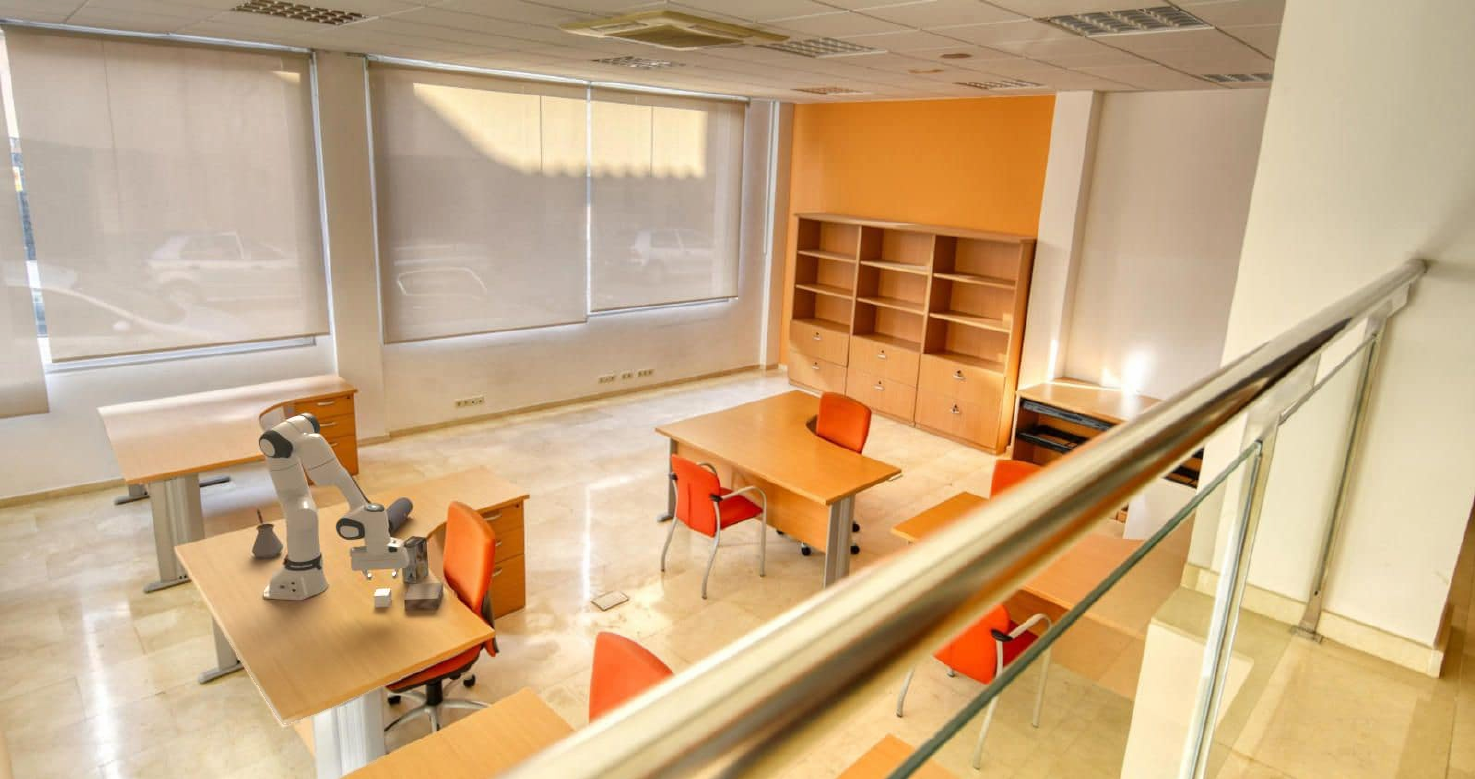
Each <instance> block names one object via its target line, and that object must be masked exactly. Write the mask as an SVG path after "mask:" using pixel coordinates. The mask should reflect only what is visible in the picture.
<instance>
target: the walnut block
mask: <svg viewBox="0 0 1475 779" xmlns="http://www.w3.org/2000/svg"><path fill="white" fill-rule="evenodd" d="M407 589H408V590H407V592H406V595H405V596H404V600H403V602H404V603H403V604H404V612H405V611H406V612H411V611H413V612H415V611H431V610H432V611H435V610H437V611H438V610H439V608H440V605H441V602H442V599H443V596H444V583H443V582H429V583H410V584H409V587H408V588H407Z"/></svg>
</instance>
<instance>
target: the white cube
mask: <svg viewBox="0 0 1475 779" xmlns="http://www.w3.org/2000/svg"><path fill="white" fill-rule="evenodd" d="M373 600H374V608H390V605H391V602H392V601H393V600H392V588H377V589H376V591H375V593H374V595H373Z"/></svg>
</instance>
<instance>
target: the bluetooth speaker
mask: <svg viewBox="0 0 1475 779" xmlns="http://www.w3.org/2000/svg"><path fill="white" fill-rule="evenodd" d="M413 508H414V504H413V502H412V500H410V499H409V498H407V497H405V496H402V497H399V498H398V499H396V500H394V502H393V503H391V504H390V505H389V506H388V507H387V508H385V510H386V512H387V516H388V522H389V528H388V532H389V534H390V535H391V533H393V532H394V531H396V530H397V529H399V527H400V526H402V524H403V523H404V522H405V520H406V519H407V518H408V517H409V516H410V514H411V513H412V511H413Z"/></svg>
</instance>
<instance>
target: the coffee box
mask: <svg viewBox="0 0 1475 779" xmlns="http://www.w3.org/2000/svg"><path fill="white" fill-rule="evenodd" d="M427 546H428V544H427V537H423V536H415V535H414V536H413V535H412V536H410V537H409V538H408V539H406V540H404V547H405V548H406V549H407V552H408V556H409V565H408V566H407V567H406V568H401V572H402V573H401V575H402V581H403V582H405V583H410V584H419V582H420V581H421V580H422V579H423V578H425V576H427V575H428V574H429V560H428V559H429V558H428V547H427Z"/></svg>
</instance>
